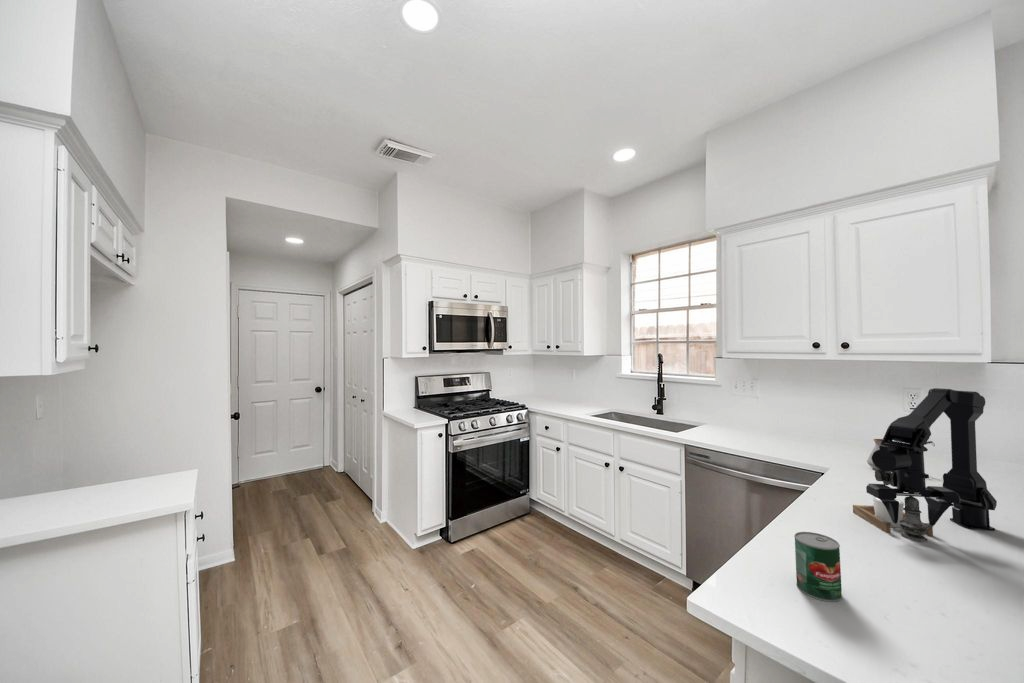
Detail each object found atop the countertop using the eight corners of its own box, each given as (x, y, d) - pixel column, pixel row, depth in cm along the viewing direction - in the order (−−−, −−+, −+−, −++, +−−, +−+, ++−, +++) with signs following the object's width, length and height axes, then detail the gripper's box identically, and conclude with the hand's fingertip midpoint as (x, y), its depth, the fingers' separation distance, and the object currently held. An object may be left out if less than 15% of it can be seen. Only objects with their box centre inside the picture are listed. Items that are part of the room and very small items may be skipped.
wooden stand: (893, 514, 124) (893, 504, 124) (933, 536, 109) (932, 525, 109) (852, 512, 126) (852, 502, 126) (886, 533, 111) (885, 522, 111)
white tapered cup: (896, 519, 120) (895, 496, 120) (910, 529, 114) (909, 504, 114) (868, 517, 122) (867, 494, 123) (881, 526, 116) (879, 502, 116)
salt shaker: (935, 542, 105) (932, 498, 106) (909, 541, 106) (907, 496, 107) (917, 533, 111) (915, 490, 111) (893, 531, 112) (891, 489, 113)
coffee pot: (863, 469, 172) (861, 434, 172) (872, 464, 178) (870, 431, 179) (933, 481, 154) (930, 443, 154) (940, 476, 160) (938, 439, 161)
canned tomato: (828, 606, 80) (825, 551, 80) (788, 585, 87) (786, 535, 88) (850, 595, 83) (847, 543, 84) (809, 577, 90) (807, 529, 91)
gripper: (926, 461, 115) (929, 514, 115) (852, 458, 119) (855, 510, 119) (960, 472, 104) (964, 531, 104) (878, 469, 108) (881, 526, 108)
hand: (913, 524), depth 109 cm, fingers closed on salt shaker, 8 cm apart
